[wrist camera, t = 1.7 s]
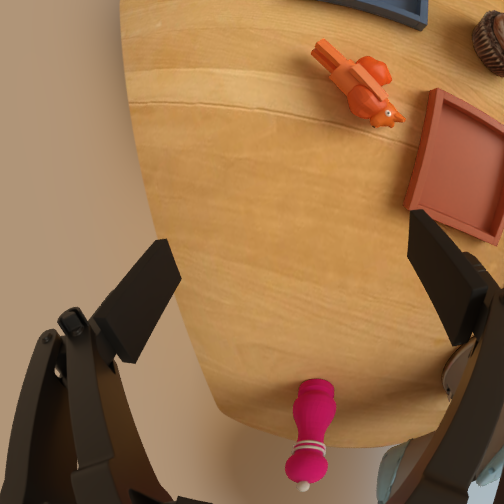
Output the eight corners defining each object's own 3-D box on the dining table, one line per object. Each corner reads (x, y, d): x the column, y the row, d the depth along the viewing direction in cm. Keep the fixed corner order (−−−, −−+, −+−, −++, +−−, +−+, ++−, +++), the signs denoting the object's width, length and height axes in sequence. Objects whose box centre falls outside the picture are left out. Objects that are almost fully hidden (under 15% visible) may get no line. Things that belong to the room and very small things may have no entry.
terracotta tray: (515, 139, 22) (525, 141, 19) (488, 240, 28) (496, 246, 26) (429, 90, 24) (437, 87, 21) (402, 205, 30) (408, 210, 28)
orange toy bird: (303, 45, 21) (390, 137, 22) (351, 18, 20) (428, 101, 22) (295, 67, 26) (369, 145, 27) (338, 39, 25) (406, 112, 27)
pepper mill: (339, 376, 42) (332, 484, 24) (334, 402, 45) (325, 498, 27) (296, 375, 44) (274, 480, 26) (295, 400, 46) (275, 495, 28)
